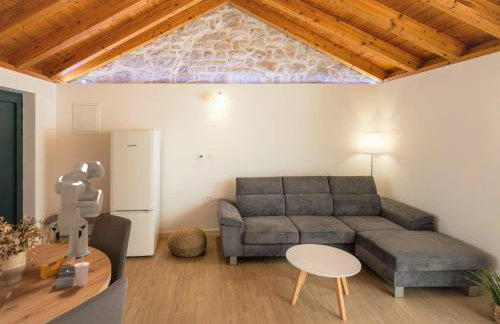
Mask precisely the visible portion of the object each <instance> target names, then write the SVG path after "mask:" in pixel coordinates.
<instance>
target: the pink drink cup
mask: <svg viewBox="0 0 500 324" xmlns="http://www.w3.org/2000/svg"><path fill="white" fill-rule="evenodd" d="M89 267H90V262H88V261H84V256H83V255H82V257H81V262H77V263H75V265H74V268H75V272H76V275H75V279H76V286H77V287H83V286H87V283H88V282H87V281H88V275H89Z"/></svg>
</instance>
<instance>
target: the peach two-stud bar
mask: <svg viewBox="0 0 500 324" xmlns="http://www.w3.org/2000/svg"><path fill="white" fill-rule="evenodd" d="M75 264H76V257H75V256H74V257H72V256H70V257H67V256H66V258H65V261H64V262H63V264H62V267H68V266H74V265H75Z"/></svg>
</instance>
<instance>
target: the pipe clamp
mask: <svg viewBox="0 0 500 324" xmlns="http://www.w3.org/2000/svg"><path fill="white" fill-rule="evenodd" d="M65 259H66V258H65V257H58V258H57V260H56V263H55V264H52V265H51V266H49V264H48V263H47V264H46V263H44V264H41V265H40V279H42V280H43V279H45V280H46V279H47V278H50V277H52V276H55V275H56V274H59V272H60V267H62V264H63V262H64V261H65Z"/></svg>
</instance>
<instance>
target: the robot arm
mask: <svg viewBox="0 0 500 324" xmlns="http://www.w3.org/2000/svg"><path fill="white" fill-rule="evenodd" d="M105 175H106V172H105V168H104V166H103V164H102V163H101V162H100V161H97V160H82V161H81V160H80V161H79V162H78V163H76V165H75V167H74V168H73V170H72V171H70V172H68V173H64V174H63V175H61V176H60V177H59V178H58V179H57V180H56V183H55V184H54V192H55V193H56V195H58V196H60V208H59V209H58V215H57V220H56V221H53V222H52V223H49V227H50V229H51V230H52V231H53V232H54V233H55V239H56V241H59V240H60V230H65V229H69V232H68V233H69V235H68V236H69V237H68V238H69V241H68V243H69V246H68V248H69V249H68V250H69V251H68V252H66V253H65V255H66V256H65V257H66V258H67V257H70V256H72V257H74V256H75V258H82V255H83V257H85V256H88V255H90V254H91V250H90V249H88V247H89V246H88V245H89V243H88V242H89V241H88V239H89V237H88V235H89V226H88V225H89V223H88V221H87V220H86V219H85V218H95V217H98V216H100V215H101V211H102V208H103V202H104V192H103V190H101V189H98V188H97V189H96V188H95V189H94V187H93V185H92V183H91V182H90V181H88V180H102V179H104V178H105ZM55 225H57V228H56V227H55Z"/></svg>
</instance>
